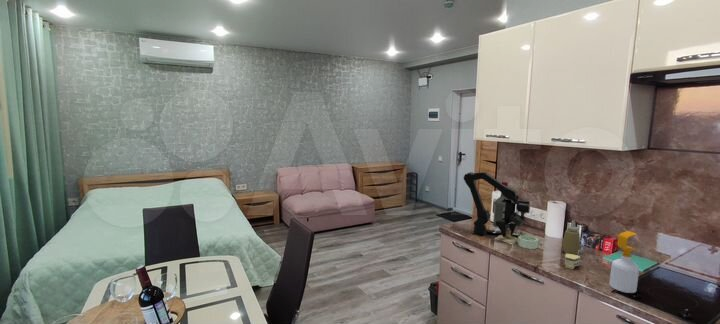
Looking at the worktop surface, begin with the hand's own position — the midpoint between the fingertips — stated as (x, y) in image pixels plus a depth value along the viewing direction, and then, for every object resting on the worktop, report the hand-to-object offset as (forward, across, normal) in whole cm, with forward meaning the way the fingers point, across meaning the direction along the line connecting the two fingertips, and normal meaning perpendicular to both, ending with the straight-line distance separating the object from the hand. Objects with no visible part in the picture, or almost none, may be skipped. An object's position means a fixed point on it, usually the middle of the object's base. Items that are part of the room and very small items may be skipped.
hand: (507, 235), depth 197 cm
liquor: (+3, +21, +17) cm, 27 cm away
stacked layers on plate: (+3, -8, -38) cm, 39 cm away
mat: (+2, 0, 0) cm, 2 cm away
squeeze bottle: (+3, +10, -30) cm, 32 cm away
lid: (+2, 0, 0) cm, 2 cm away
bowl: (+2, 0, -12) cm, 12 cm away
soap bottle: (+3, -13, -60) cm, 61 cm away
